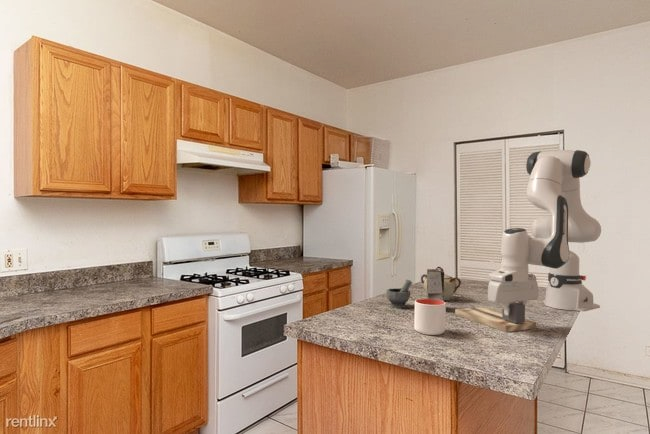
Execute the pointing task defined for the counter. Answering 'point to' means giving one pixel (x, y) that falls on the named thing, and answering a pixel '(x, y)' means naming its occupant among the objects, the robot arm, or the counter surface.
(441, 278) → the coffee box
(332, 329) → the counter surface
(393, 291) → the mortar and pestle
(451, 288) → the sugar bowl
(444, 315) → the cup
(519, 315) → the fader
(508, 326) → the fader panel
